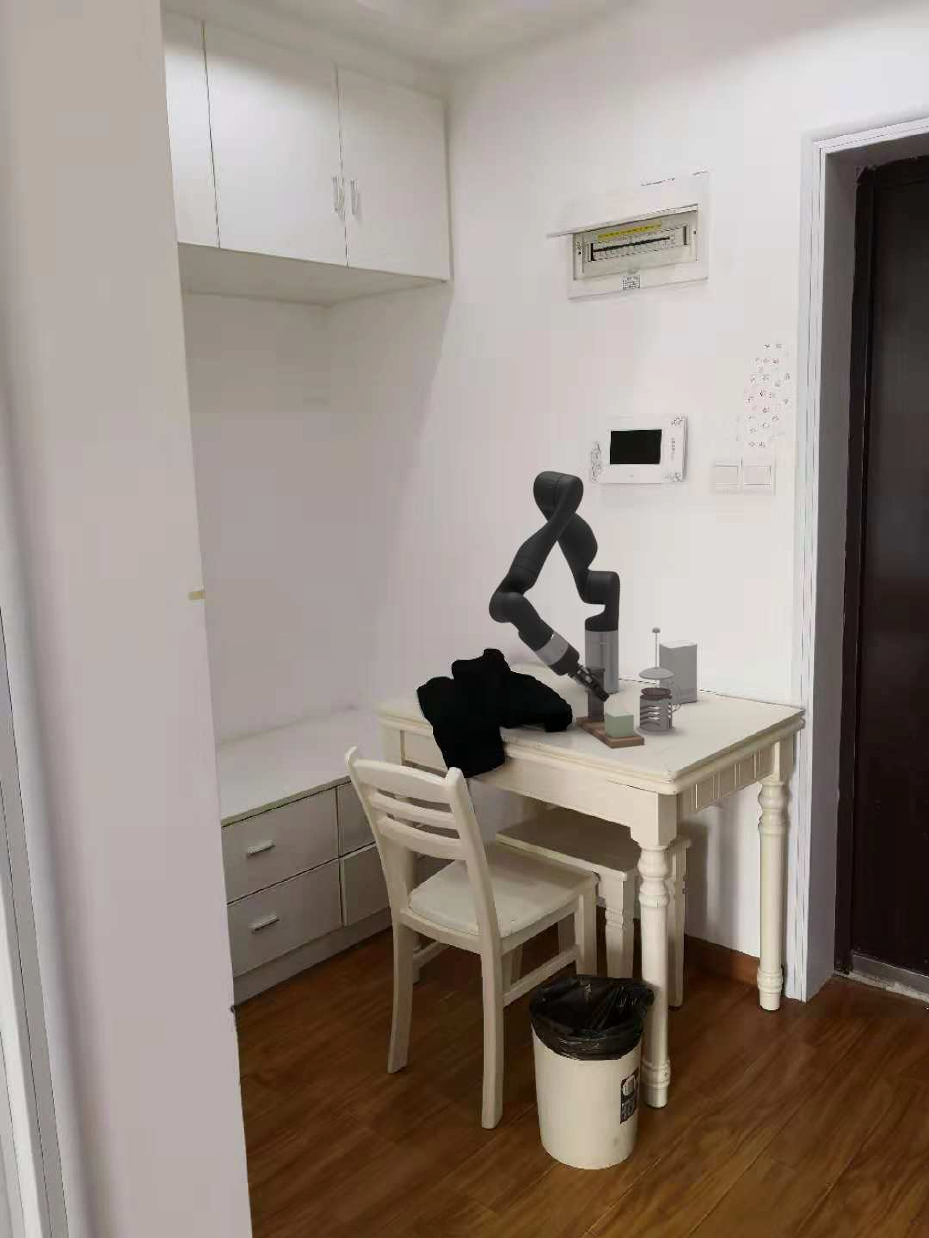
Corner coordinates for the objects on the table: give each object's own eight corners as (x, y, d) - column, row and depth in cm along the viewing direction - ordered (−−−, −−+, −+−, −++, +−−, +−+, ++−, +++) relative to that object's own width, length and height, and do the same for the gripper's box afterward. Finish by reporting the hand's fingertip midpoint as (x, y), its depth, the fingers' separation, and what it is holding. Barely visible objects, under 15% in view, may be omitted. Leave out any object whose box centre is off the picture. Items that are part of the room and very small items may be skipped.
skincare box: (685, 696, 280) (685, 639, 278) (698, 702, 274) (699, 643, 272) (657, 699, 278) (657, 642, 275) (670, 705, 272) (670, 646, 269)
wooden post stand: (576, 723, 257) (575, 666, 255) (606, 720, 259) (606, 663, 257) (611, 748, 236) (611, 686, 234) (644, 744, 238) (644, 683, 236)
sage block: (604, 732, 243) (604, 711, 243) (624, 730, 245) (624, 709, 244) (613, 738, 239) (613, 716, 238) (633, 735, 240) (633, 714, 239)
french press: (650, 722, 257) (650, 622, 252) (691, 730, 249) (692, 627, 244) (626, 731, 250) (626, 628, 246) (668, 739, 242) (668, 633, 238)
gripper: (576, 645, 243) (625, 692, 248) (555, 635, 256) (602, 679, 262) (555, 670, 242) (605, 716, 248) (535, 658, 256) (582, 702, 261)
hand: (603, 696), depth 255 cm, fingers closed on wooden post stand, 3 cm apart
